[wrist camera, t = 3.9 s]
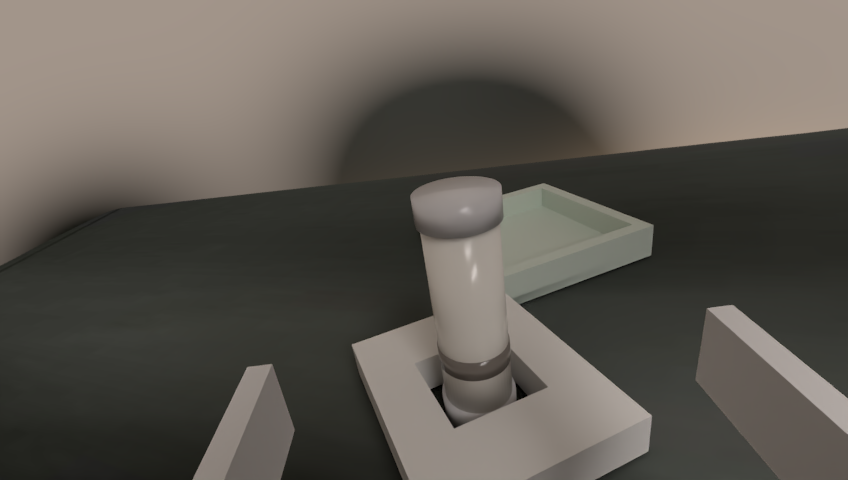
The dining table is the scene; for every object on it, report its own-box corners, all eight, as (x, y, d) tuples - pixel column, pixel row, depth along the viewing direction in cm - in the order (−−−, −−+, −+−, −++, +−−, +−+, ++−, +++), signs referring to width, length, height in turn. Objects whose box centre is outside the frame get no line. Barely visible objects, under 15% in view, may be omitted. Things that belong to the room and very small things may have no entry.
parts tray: (651, 255, 41) (653, 225, 39) (498, 311, 36) (495, 279, 35) (544, 206, 54) (544, 183, 53) (424, 242, 50) (420, 218, 48)
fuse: (531, 416, 26) (519, 190, 20) (465, 447, 25) (431, 216, 19) (493, 371, 30) (474, 170, 24) (434, 396, 29) (398, 190, 23)
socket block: (648, 451, 23) (651, 415, 22) (437, 563, 20) (429, 528, 19) (504, 317, 35) (502, 290, 34) (358, 372, 32) (351, 344, 31)
